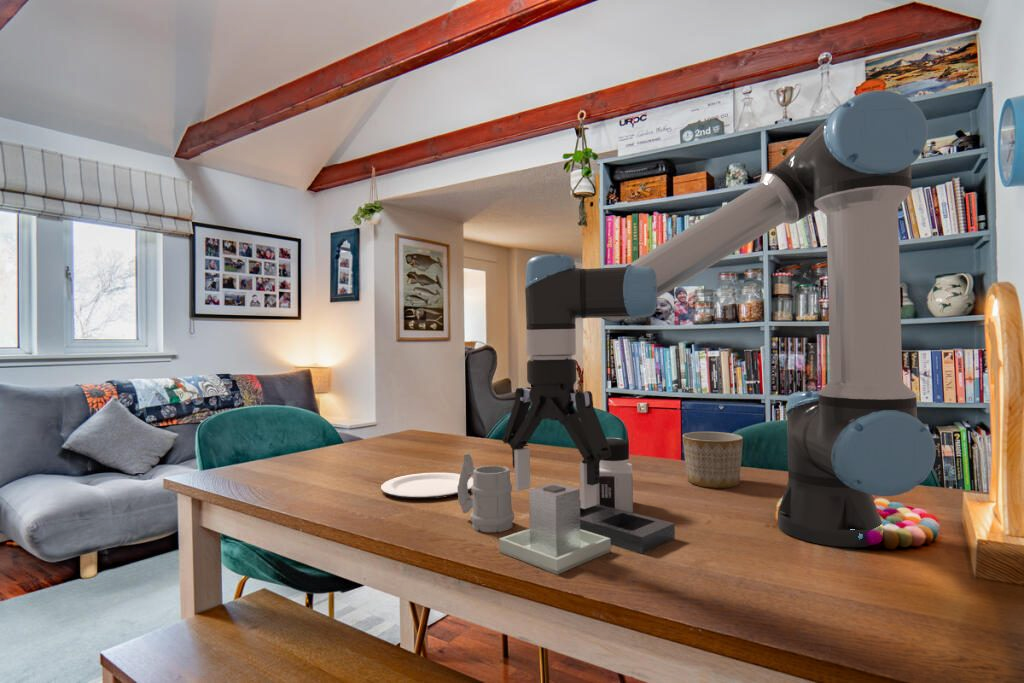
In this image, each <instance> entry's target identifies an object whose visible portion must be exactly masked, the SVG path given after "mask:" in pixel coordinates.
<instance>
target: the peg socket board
mask: <svg viewBox="0 0 1024 683" xmlns="http://www.w3.org/2000/svg"><path fill="white" fill-rule="evenodd" d="M528 505H529V508H530V504H528ZM675 524H676V523H674V522H670V521H667V520H662V519H659V518H655V517H651V516H648V515H647V516H646V515H642V514H640V513H639V514H638V513H635V512H632V513H631V512H627V511H623V510H619V509H615V508H611V507H607V506H603V505H599V504H597V505H595V506H592V507H589V508H586V509H583V508H580V529H581V530H585V531H588V532H591V533H595V534H598V535H601V536H605V537H608V538H610V540H611V545H612V546H615V547H618V548H622V549H626V550H629V551H631V552H635V553H638V554H642V555H643V554H646V553H648V552H650V551H652V550H655V549H657V548H659V547H660V546H663V545H665V544H667V543H669V542H672V541H674V540H675V539H676V530H675V529H676V528H675V527H676V526H675Z"/></svg>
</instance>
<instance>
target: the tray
mask: <svg viewBox="0 0 1024 683" xmlns="http://www.w3.org/2000/svg"><path fill="white" fill-rule="evenodd" d="M580 543H581V548H579V549H577V550H574V551H572V552H569V553H567V554H564V555H562V556H559V557H557V558H556V557H553V556H551V555H548V554H545V553H542V552H540V551H537V550H534V549H531V548H530V527H529V528H527V529H524V530H521V531H517V532H514V533H511V534H509V535H506V536H503V537H499V538H498V552H499V553H502V554H504V555H506V556H508V557H509V556H510V557H511V558H514V559H517V560H519V561H521V562H524V563H527V564H528V565H529V564H530V565H532V566H534V567H537V568H539V569H543V570H544V571H546V572H549V573H552V574H554V575H559V574H562V573H564V572H566V571H568V570H572V569H573V568H575V567H577V566H578V567H579V566H581V565H583V564H585V563H587V562H590V561H592V560H594V559H596V558H597V559H598V558H599V557H601V556H604V555H605V554H609V553H611V551H612V550H611V549H612V548H611V545H612V544H611V540H610V538H608V537H605V536H601V535H598V534H595V533H591V532H588V531H585V530H581V529H580Z"/></svg>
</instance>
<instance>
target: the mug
mask: <svg viewBox="0 0 1024 683" xmlns="http://www.w3.org/2000/svg"><path fill="white" fill-rule="evenodd" d="M462 458H463V461H462V462H463V463H462V466H461V471H460V473H459V474H460V479H459V484H458V494H457V496H458V497H457V499H458V500H457V501H458V504H459V506H460V507H461V508H460V509H461V511H462V513H463V514H467V513H469V511H470V510H471V509H472V510H471V511H472V512H470V518H469V519H470V522H471V523H472V529H474V530H475V531H480V532H483V533H497V532H498V533H501V532H506V531H508V530H510V529H512V528H513V522H514V520H515V512H514V511H513V510H512V509H513V508H512V505H513V504H512V491H513V485H512V483H511V472H510V471H511V470H510V468H508V467H507V466H504V465H503V466H502V465H488V466H487V465H483V466H479V467H474V461H473V459H472V456H471V455H470V453H468V452H466V453H464V454H463V457H462ZM470 477H471V478H473V485H472V489H470V491H471V494H472V497H471V495H470V493H469V490H468V484H467V483H468V480H469V479H470Z"/></svg>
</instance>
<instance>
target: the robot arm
mask: <svg viewBox="0 0 1024 683" xmlns="http://www.w3.org/2000/svg"><path fill="white" fill-rule="evenodd" d="M928 136H929V126H928V121H927V119H926V116H925V115H924V112H923V111H922V109H921V108H920V107H919V106H918V105H917V104H916V103H915V102H914V101H911V100H910V99H909V98H907V97H906V95H903V94H901V93H898V92H894V91H890V90H883V89H881V90H880V89H878V90H877V89H875V90H869V91H865V92H862V93H859V94H857V95H855V96H853V97H851V98H849V99H848V100H847V101H845V102H844V103H841V104H840V105H838V106H837V107H835V108H834V109H833V110H832V111H831V112H830V113H829V115H828V116H827V118H826V120H825V121H823V122H822V123H821V124H820V125H819V126H818V127H817V128H816V129H814V130H813V131H812V133H810V134H809V135H808V136H807V137H805V139H804V140H802V142H801V143H800V144H799V145H798V146H797V147H796V148H795V149H794V150H793V151H792V152H791V153H789V155H788V156H787V157H786V158H784V159H783V160H782V161H781V162H780V163H778V164H777V165H775V166H774V167H773V168H771V169H769V170H768V171H766V172H765V173H763V174H762V175H761V177H760V180H759V183H758V184H756V185H755V186H753V187H752V188H750V189H749V190H747V191H745V192H744V193H742V194H740V195H739V196H737V197H736V198H734V199H732V200H731V201H730V202H727V203H726V204H724V205H723V206H721V207H719V208H718V209H716V210H715V211H713V212H712V213H710V214H709V215H707V216H705V217H703V218H702V219H699V220H698V221H697V222H695V223H693V224H691V226H689V227H687V228H686V229H684V230H682V231H681V232H679V233H678V234H676V235H674V236H672V237H671V238H669V239H668V240H666V241H665V242H663V243H662V244H659V245H658V246H656V247H655V248H653V249H652V250H650V251H648V252H647V253H645V254H644V255H641V256H640V257H638V258H637V259H635V260H634V261H632V262H630V263H628V264H627V265H626V266H623V267H622V266H619V267H603V268H602V267H601V268H580V267H576V264H575V259H574V258H573V257H572V256H571V255H568V254H542V255H536V256H532V257H531V258H529V260H528V261H527V263H526V267H525V269H526V270H525V286H524V293H525V318H526V322H525V323H526V326H525V328H526V356H528V357H530V359H528V360H527V362H526V380H527V383H528V384H529V385H530V387H529V386H528V387H527V386H526V387H517V388H516V389H515V395H514V396H515V397H514V404H513V406H512V409H511V411H510V414H509V419H508V422H507V423H506V427H505V430H504V434H503V436H502V443H503V444H508V445H509V446H510V449H511V451H512V456H511V457H512V468H513V469H514V491H516V492H520V491H524V490H525V491H526V490H529V489H531V461H530V460H531V454H530V453H531V451H530V450H531V449H530V447H528V446H529V444H528V442H529V441H530V440H531V437H532V436H533V435H534V433H535V431H537V428H538V427H539V425H540V423H541V422H542V421H543V420H547V419H549V420H551V421H558V423H560V424H561V425H562V426H563V427H564V429H565V430H566V432H567V433H568V435H569V437H570V438H571V440H572V441H573V443H574V445H575V447H576V448H577V450H578V451H579V453H580V455H581V457H582V458H583V459H582V460H581V461H579V489H580V508H583V509H586V508H589V507H592V506H595V505H597V500H596V484H599V481H600V474H599V473H600V465H599V464H600V461H601V460H602V459H605V458H608V457H611V455H612V453H611V450H610V447H609V445H608V442H607V440H606V438H607V437H606V435H605V432H604V430H603V428H602V425H601V423H600V419H599V417H598V415H597V412H596V410H595V407H594V400H593V393H592V392H591V391H590V390H587V391H577V392H576V391H575V384H576V382H577V378H578V377H577V361H576V360H575V359H574V358H573V356H575V355H576V354H577V346H576V345H577V343H576V342H577V341H576V339H577V337H576V333H577V332H576V319H595V318H596V319H602V320H604V321H607V322H613V323H618V322H621V321H623V320H625V319H627V318H631V319H638V318H641V317H642V318H644V317H645V318H646V317H651V316H653V315H654V314H655V313H656V311H657V305H658V304H657V303H658V302H657V301H658V298H660V297H661V296H663V295H665V294H666V293H668V292H670V291H672V290H673V289H674V288H676V287H678V286H680V285H681V284H683V283H685V282H686V281H688V280H691V279H692V278H693V277H695V276H696V275H698V274H700V273H702V272H703V271H705V270H707V269H708V268H710V267H711V266H714V265H715V264H716V263H718V262H720V261H721V260H723V259H726V258H727V257H729V256H730V255H732V254H733V253H735V252H736V251H738V250H740V249H741V248H743V247H745V246H747V245H748V244H751V242H753V241H755V240H757V239H758V238H761V236H764V235H765V234H767V233H769V232H770V231H771V230H773V229H775V228H777V227H778V226H780V225H782V224H784V223H785V224H789V225H793V224H795V223H797V222H799V221H800V220H802V219H804V218H805V217H808V216H810V215H811V214H813V213H815V212H818V211H820V212H822V213H823V214H824V215H825V216H826V245H827V248H826V250H827V252H826V253H827V290H828V292H827V294H828V298H827V299H828V330H829V331H828V332H829V333H828V334H829V374H830V375H829V376H830V377H829V378H830V379H829V381H828V383H827V384H825V385H824V386H823V387H822V388H821V389H819V390H814V391H797V392H792V393H791V394H790V395H788V398H787V401H786V402H787V403H786V404H787V405H786V406H787V407H786V411H785V415H786V423H787V424H786V426H787V427H786V429H787V433H786V434H787V468H788V469H787V472H788V473H787V474H788V475H787V476H788V480H787V484H786V487H785V489H784V493H783V496H782V497H781V501H780V504H779V507H778V510H777V528H779V530H780V531H781V532H783V533H785V534H786V535H789V536H790V537H793V538H796V539H798V540H802V541H806V542H810V543H814V544H817V545H819V544H820V545H825V546H831V547H832V546H833V547H843V548H866V547H869V546H868V544H867V542H866V540H865V539H866V538H865V535H866V533H867V532H869V531H870V530H872V529H874V528H876V527H878V526H880V525H881V524H882V523H883V521H882V518H881V516H880V514H879V510H878V508H877V504H876V503H875V499H874V497H873V496H876V497H877V496H878V497H893V496H898V495H903V494H904V493H905V494H906V493H908V492H910V491H912V490H914V489H915V488H916V487H917V486H919V485H920V484H921V483H923V482H924V481H925V480H926V479H927V478H928V476H929V475H930V473H931V471H932V469H933V467H934V465H935V461H936V457H937V456H936V455H937V453H936V452H937V449H936V443H935V439H934V438H933V437H934V436H933V435H932V433H931V432H930V430H929V428H927V427H926V425H925V424H924V423H923V422H922V420H920V419H919V418H918V409H917V408H918V406H917V405H918V403H917V393H916V392H915V391H914V390H912V389H911V388H910V387H909V386H908V385H906V384H905V383H904V380H903V360H902V359H903V356H902V355H903V354H902V352H903V351H902V320H901V318H902V317H901V316H902V315H901V312H902V311H901V310H902V309H901V280H900V279H901V275H900V269H901V268H900V266H901V265H900V241H899V240H900V237H899V236H900V232H899V230H900V229H899V226H900V225H899V207H900V205H901V204H902V203H903V202H904V201H905V200H906V199H907V198H908V197H909V196H910V195H911V194H912V164H913V163H915V161H917V159H918V158H919V157H920V156H921V154H922V153H923V151H924V149H925V147H926V144H927V142H928ZM850 529H855V530H850ZM859 533H860V534H863V537H864V538H862V539H860V540H859V538H858V536H859Z"/></svg>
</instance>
